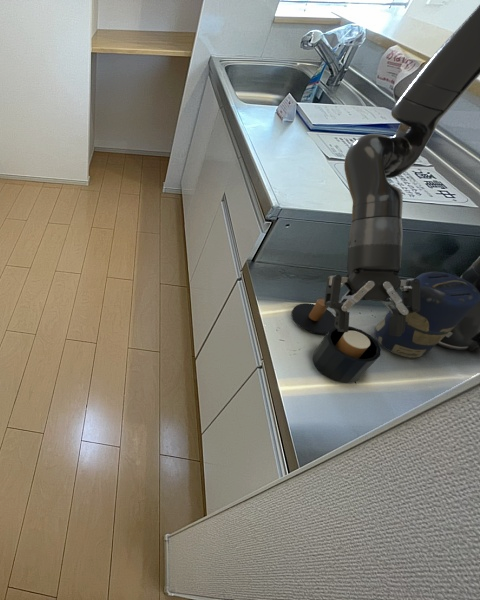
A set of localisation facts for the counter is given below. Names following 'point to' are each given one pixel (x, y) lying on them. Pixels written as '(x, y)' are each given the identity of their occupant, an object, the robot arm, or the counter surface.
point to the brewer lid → (314, 317)
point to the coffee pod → (353, 344)
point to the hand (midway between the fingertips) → (368, 333)
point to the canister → (430, 314)
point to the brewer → (343, 358)
